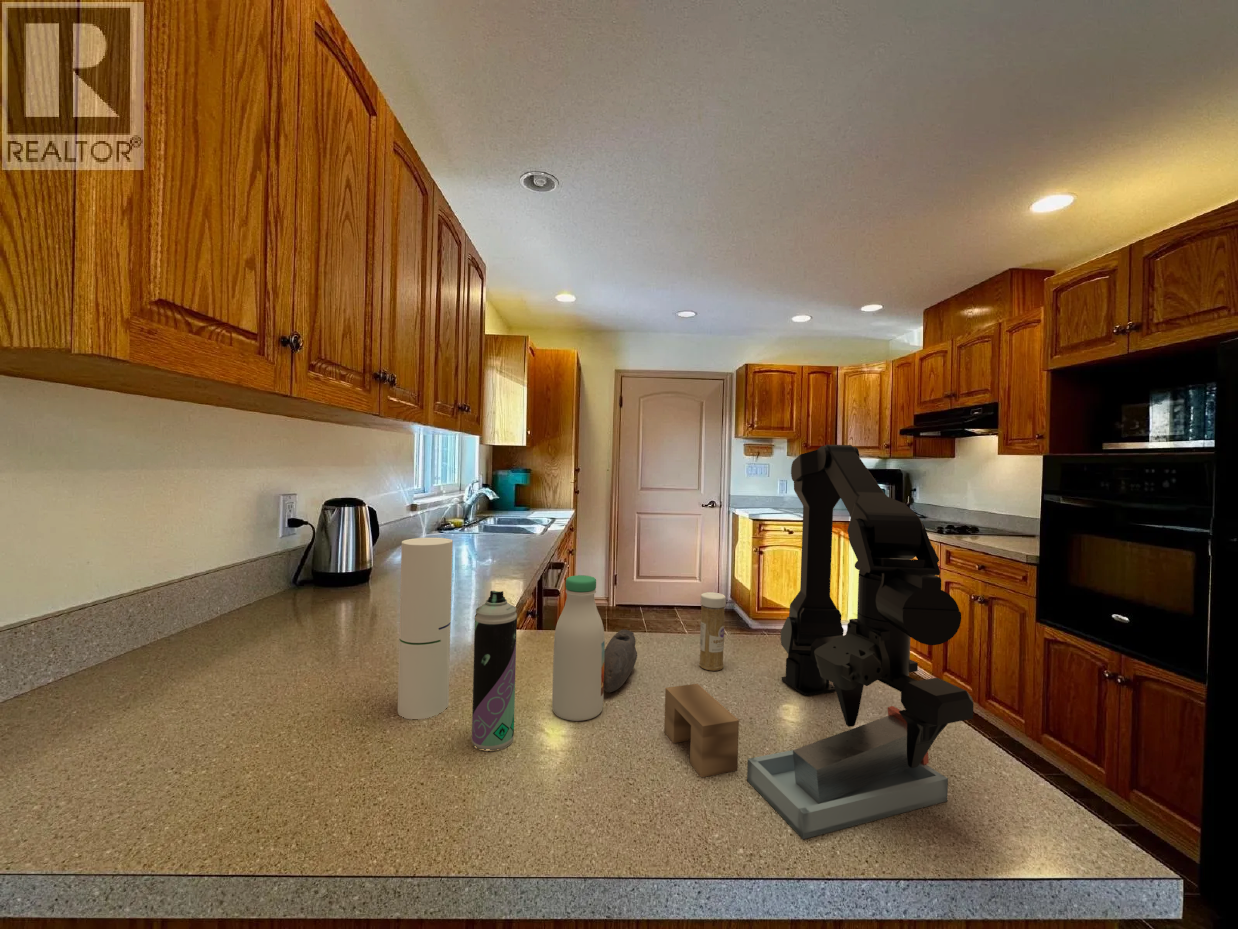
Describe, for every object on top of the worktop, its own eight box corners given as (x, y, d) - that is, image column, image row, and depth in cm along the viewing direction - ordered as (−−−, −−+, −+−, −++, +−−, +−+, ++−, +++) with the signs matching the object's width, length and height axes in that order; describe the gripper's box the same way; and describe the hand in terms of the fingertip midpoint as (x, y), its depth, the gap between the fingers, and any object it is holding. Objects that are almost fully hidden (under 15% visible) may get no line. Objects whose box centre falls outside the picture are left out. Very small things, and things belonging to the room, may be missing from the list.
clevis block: (696, 726, 74) (697, 683, 74) (737, 770, 63) (738, 720, 63) (664, 732, 72) (665, 687, 72) (701, 777, 62) (702, 726, 62)
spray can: (476, 755, 65) (480, 598, 65) (467, 734, 70) (471, 588, 70) (518, 745, 67) (522, 594, 67) (507, 726, 72) (511, 584, 72)
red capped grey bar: (895, 742, 66) (892, 705, 65) (928, 763, 61) (926, 724, 61) (793, 781, 61) (790, 741, 60) (822, 807, 56) (818, 765, 56)
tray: (876, 753, 68) (877, 733, 68) (947, 801, 59) (948, 778, 59) (747, 780, 61) (747, 758, 61) (803, 839, 52) (803, 814, 52)
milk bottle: (596, 725, 73) (599, 585, 73) (544, 719, 75) (548, 581, 74) (608, 701, 81) (611, 574, 80) (561, 695, 82) (564, 570, 82)
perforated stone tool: (620, 703, 80) (621, 659, 80) (588, 698, 82) (589, 654, 82) (640, 666, 95) (642, 629, 95) (613, 663, 96) (614, 626, 96)
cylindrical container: (458, 703, 79) (462, 540, 78) (422, 724, 72) (427, 546, 72) (423, 692, 82) (427, 536, 81) (386, 712, 75) (390, 542, 75)
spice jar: (720, 673, 92) (722, 599, 92) (696, 668, 94) (698, 595, 94) (725, 664, 97) (728, 593, 96) (702, 660, 98) (704, 590, 98)
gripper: (778, 598, 68) (774, 717, 68) (898, 649, 50) (893, 809, 50) (845, 593, 71) (842, 705, 71) (979, 639, 54) (974, 787, 54)
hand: (879, 745), depth 62 cm, fingers open, 9 cm apart
